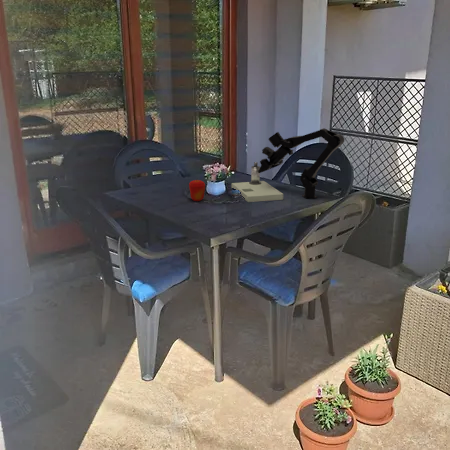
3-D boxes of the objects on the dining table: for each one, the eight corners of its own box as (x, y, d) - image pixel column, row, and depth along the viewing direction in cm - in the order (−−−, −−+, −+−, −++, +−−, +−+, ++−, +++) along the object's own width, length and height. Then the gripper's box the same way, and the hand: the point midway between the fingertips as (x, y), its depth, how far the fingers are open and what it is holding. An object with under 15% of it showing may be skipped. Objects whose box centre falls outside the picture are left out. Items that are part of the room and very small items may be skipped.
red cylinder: (208, 199, 264) (208, 178, 260) (197, 203, 258) (196, 181, 254) (197, 196, 270) (197, 175, 266) (185, 199, 264) (185, 178, 260)
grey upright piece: (258, 184, 284) (259, 163, 280) (250, 183, 285) (251, 163, 281) (259, 182, 289) (260, 161, 285) (251, 181, 290) (252, 161, 286)
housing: (283, 199, 266) (283, 193, 265) (248, 202, 260) (248, 196, 259) (263, 186, 293) (263, 180, 292) (231, 188, 288) (231, 182, 287)
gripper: (278, 140, 282) (261, 157, 291) (263, 145, 267) (245, 163, 276) (290, 155, 280) (272, 172, 289) (276, 160, 265) (257, 178, 274)
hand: (262, 171), depth 282 cm, fingers open, 9 cm apart
